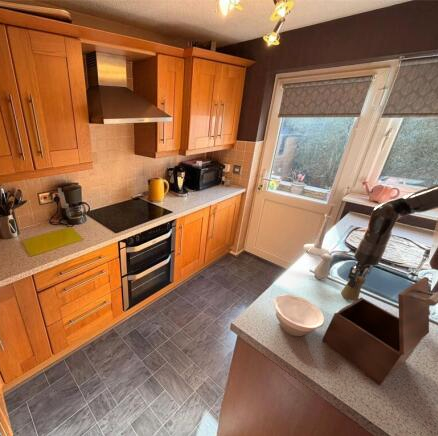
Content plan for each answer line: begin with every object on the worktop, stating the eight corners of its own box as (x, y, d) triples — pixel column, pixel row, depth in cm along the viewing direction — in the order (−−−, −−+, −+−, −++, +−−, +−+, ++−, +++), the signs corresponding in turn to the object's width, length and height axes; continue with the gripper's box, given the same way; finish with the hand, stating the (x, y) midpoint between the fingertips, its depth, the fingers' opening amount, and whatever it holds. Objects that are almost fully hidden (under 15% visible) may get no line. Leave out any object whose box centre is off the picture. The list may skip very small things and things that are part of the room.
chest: (321, 340, 83) (334, 312, 77) (347, 324, 89) (361, 297, 83) (379, 385, 69) (401, 355, 63) (405, 362, 76) (426, 332, 70)
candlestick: (302, 243, 145) (317, 198, 133) (327, 248, 140) (345, 201, 127) (304, 252, 135) (320, 205, 122) (331, 258, 129) (350, 209, 117)
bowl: (321, 326, 88) (328, 309, 85) (311, 354, 78) (319, 336, 75) (276, 304, 99) (281, 288, 95) (262, 326, 88) (267, 309, 85)
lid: (398, 294, 62) (427, 301, 57) (424, 276, 68) (452, 281, 63) (399, 353, 63) (427, 365, 59) (425, 331, 70) (452, 340, 65)
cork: (361, 302, 97) (371, 281, 93) (344, 299, 99) (353, 278, 95) (354, 292, 103) (363, 272, 98) (338, 289, 104) (346, 270, 100)
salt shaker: (329, 279, 113) (338, 257, 108) (320, 282, 111) (329, 259, 106) (318, 272, 118) (326, 251, 113) (309, 274, 117) (317, 253, 111)
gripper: (372, 260, 85) (355, 295, 92) (391, 250, 91) (374, 284, 98) (349, 250, 92) (335, 284, 99) (368, 242, 97) (353, 274, 104)
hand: (354, 284), depth 98 cm, fingers closed on cork, 5 cm apart
